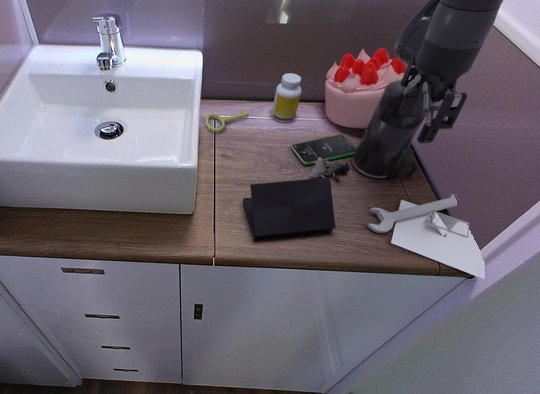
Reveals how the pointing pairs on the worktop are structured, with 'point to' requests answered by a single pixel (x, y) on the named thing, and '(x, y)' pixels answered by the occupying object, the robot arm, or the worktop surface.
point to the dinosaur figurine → (329, 168)
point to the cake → (359, 87)
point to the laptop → (249, 214)
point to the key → (223, 120)
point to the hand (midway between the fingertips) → (413, 127)
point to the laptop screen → (292, 206)
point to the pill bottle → (287, 98)
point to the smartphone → (323, 149)
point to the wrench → (408, 213)
